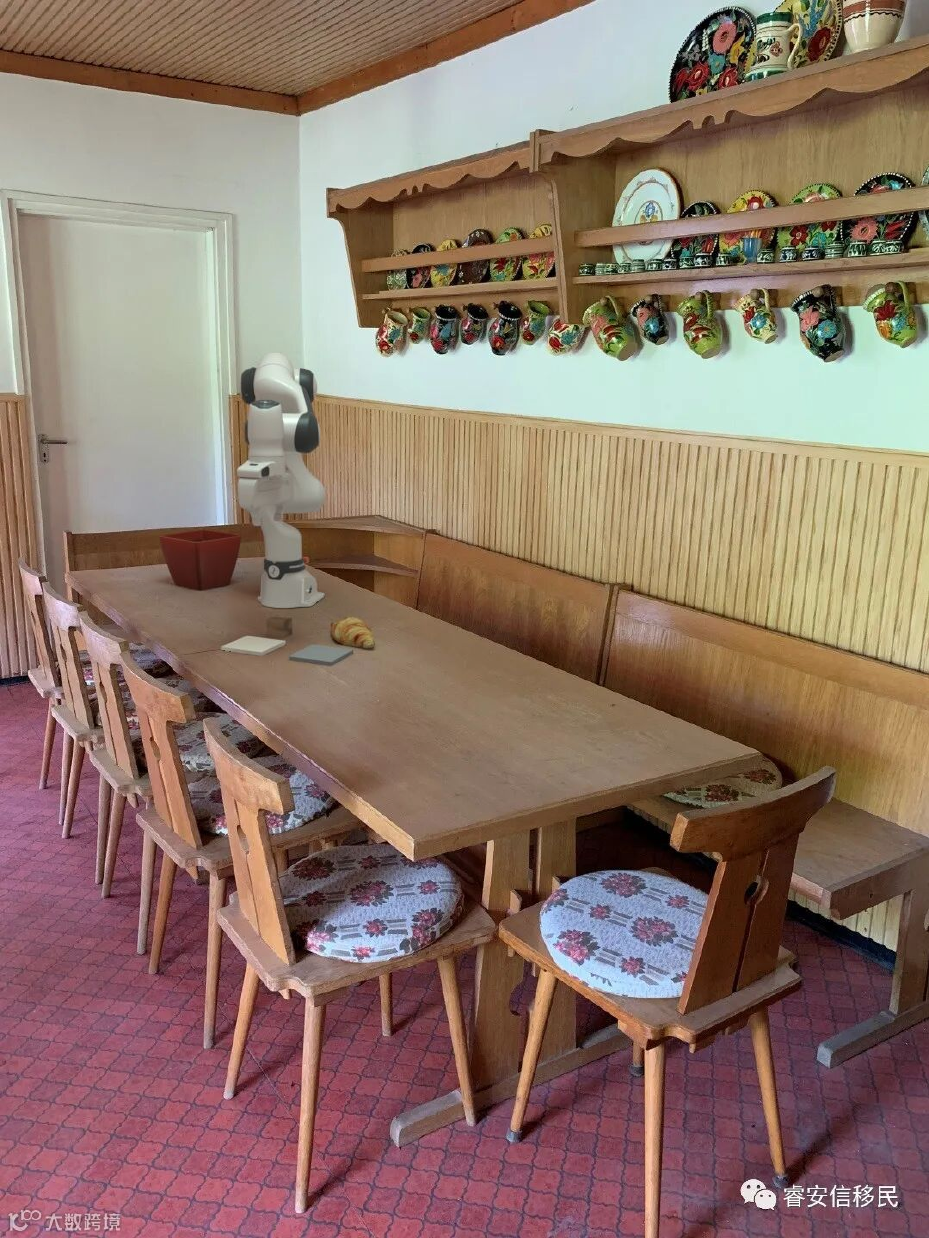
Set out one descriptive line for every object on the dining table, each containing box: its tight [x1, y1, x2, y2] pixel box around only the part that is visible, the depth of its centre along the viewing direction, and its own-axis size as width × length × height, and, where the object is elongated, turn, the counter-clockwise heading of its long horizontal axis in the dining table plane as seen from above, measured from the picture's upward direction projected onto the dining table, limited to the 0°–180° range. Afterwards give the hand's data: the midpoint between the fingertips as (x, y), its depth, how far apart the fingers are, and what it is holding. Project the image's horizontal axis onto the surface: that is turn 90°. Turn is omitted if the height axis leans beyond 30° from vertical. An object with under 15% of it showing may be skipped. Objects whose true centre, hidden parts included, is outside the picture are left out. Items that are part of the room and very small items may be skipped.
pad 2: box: [288, 643, 354, 667], centre depth 257 cm, size 12×12×1 cm
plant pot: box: [159, 529, 242, 591], centre depth 332 cm, size 19×19×17 cm
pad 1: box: [220, 635, 287, 657], centre depth 264 cm, size 12×12×1 cm
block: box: [266, 614, 293, 640], centre depth 276 cm, size 5×5×5 cm
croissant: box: [330, 615, 376, 650], centre depth 272 cm, size 21×10×8 cm, turn 37°
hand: (268, 523), depth 252 cm, fingers open, 8 cm apart
